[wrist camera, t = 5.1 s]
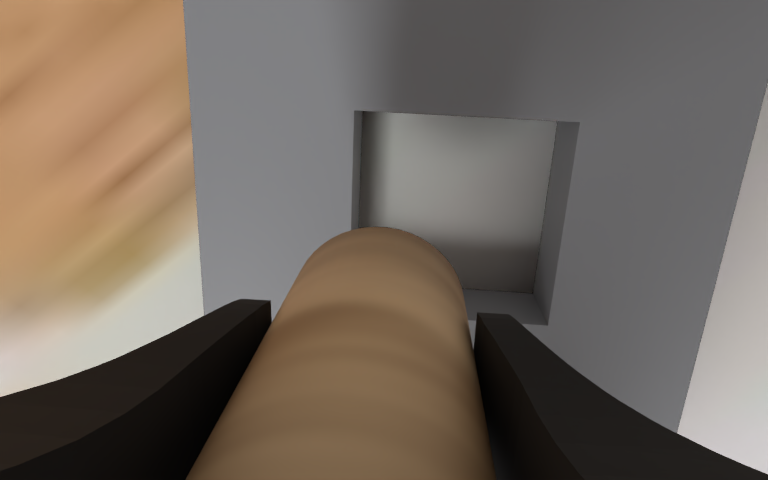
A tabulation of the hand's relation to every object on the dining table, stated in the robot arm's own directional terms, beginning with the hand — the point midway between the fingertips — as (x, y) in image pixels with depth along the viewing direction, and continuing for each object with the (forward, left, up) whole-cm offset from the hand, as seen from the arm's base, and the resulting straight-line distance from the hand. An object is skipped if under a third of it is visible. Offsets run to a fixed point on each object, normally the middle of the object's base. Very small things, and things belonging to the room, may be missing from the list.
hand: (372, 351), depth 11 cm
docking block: (+1, -2, -9) cm, 9 cm away
